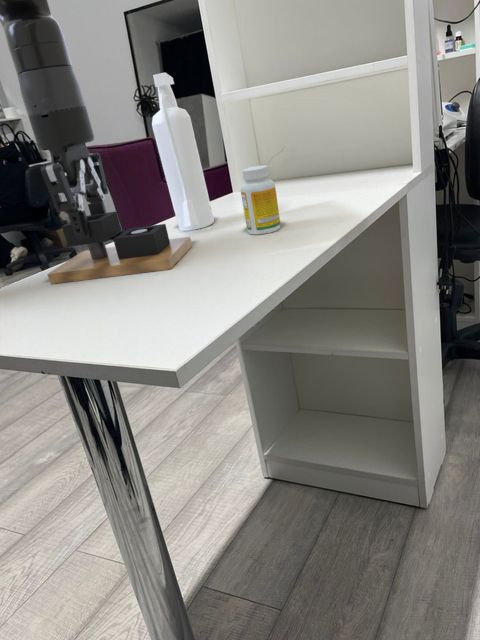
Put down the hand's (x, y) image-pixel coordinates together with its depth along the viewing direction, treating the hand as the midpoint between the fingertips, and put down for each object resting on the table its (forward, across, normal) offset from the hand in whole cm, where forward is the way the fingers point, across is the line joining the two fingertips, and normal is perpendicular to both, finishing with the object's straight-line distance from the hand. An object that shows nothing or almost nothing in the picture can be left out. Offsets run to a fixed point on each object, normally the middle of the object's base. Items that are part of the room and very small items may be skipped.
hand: (93, 232), depth 79 cm
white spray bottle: (+5, -20, +9) cm, 23 cm away
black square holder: (+4, 0, +7) cm, 8 cm away
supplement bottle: (+6, -10, +23) cm, 26 cm away
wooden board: (+5, 0, +3) cm, 6 cm away
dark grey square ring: (+1, 0, 0) cm, 1 cm away
